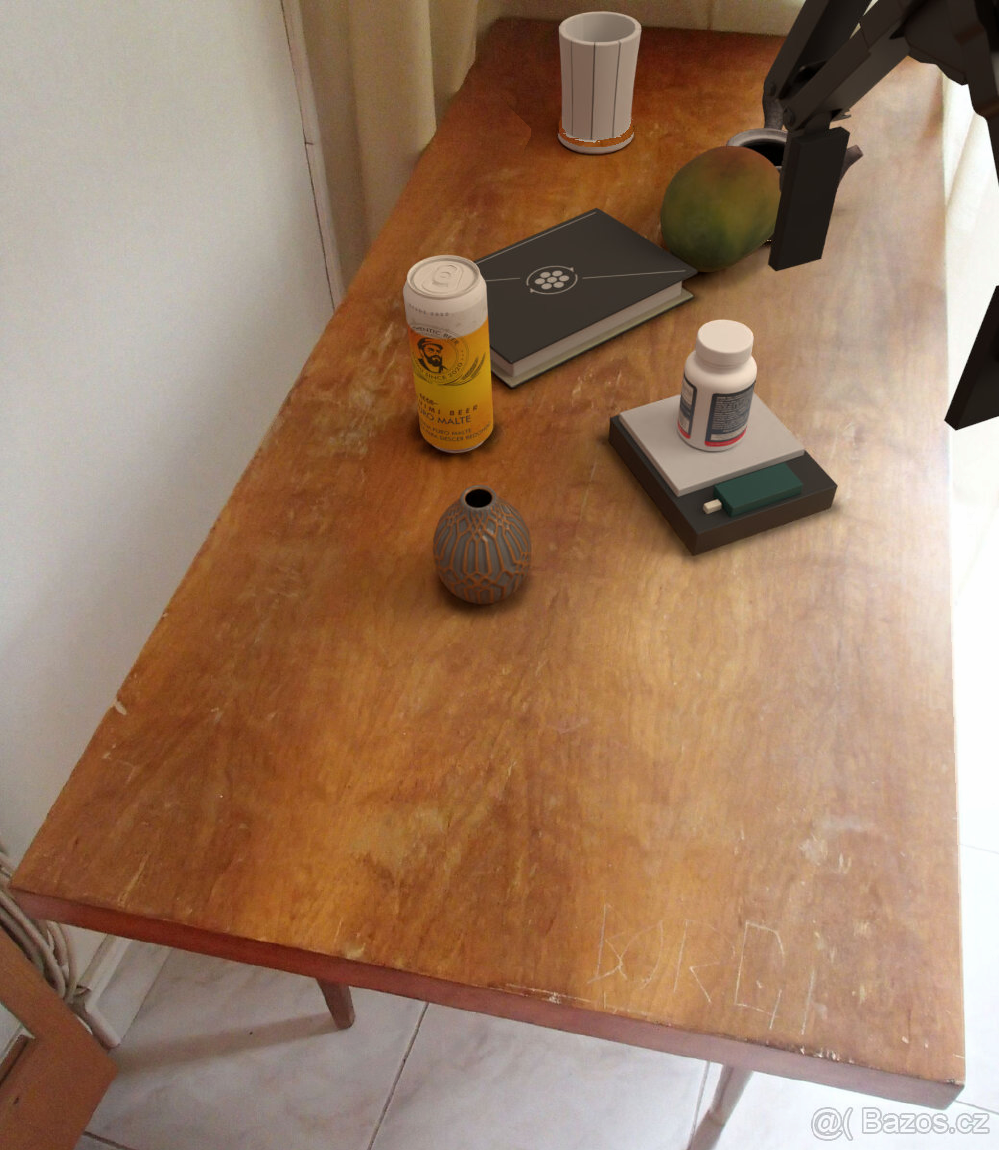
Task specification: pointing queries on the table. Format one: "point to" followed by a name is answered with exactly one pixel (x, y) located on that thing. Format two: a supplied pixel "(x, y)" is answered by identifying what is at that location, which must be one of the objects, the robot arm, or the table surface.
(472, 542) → the vase
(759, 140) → the teapot
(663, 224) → the fruit
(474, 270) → the beer can
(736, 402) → the pill bottle
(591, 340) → the book
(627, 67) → the cup
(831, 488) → the scale
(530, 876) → the table surface
